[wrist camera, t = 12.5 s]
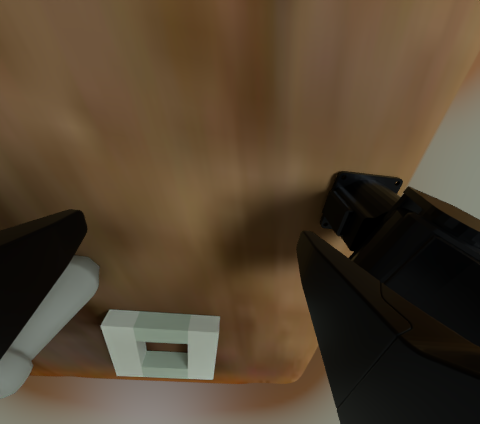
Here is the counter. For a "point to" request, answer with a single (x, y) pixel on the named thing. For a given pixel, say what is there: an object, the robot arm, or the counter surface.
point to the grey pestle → (48, 321)
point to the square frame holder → (162, 331)
